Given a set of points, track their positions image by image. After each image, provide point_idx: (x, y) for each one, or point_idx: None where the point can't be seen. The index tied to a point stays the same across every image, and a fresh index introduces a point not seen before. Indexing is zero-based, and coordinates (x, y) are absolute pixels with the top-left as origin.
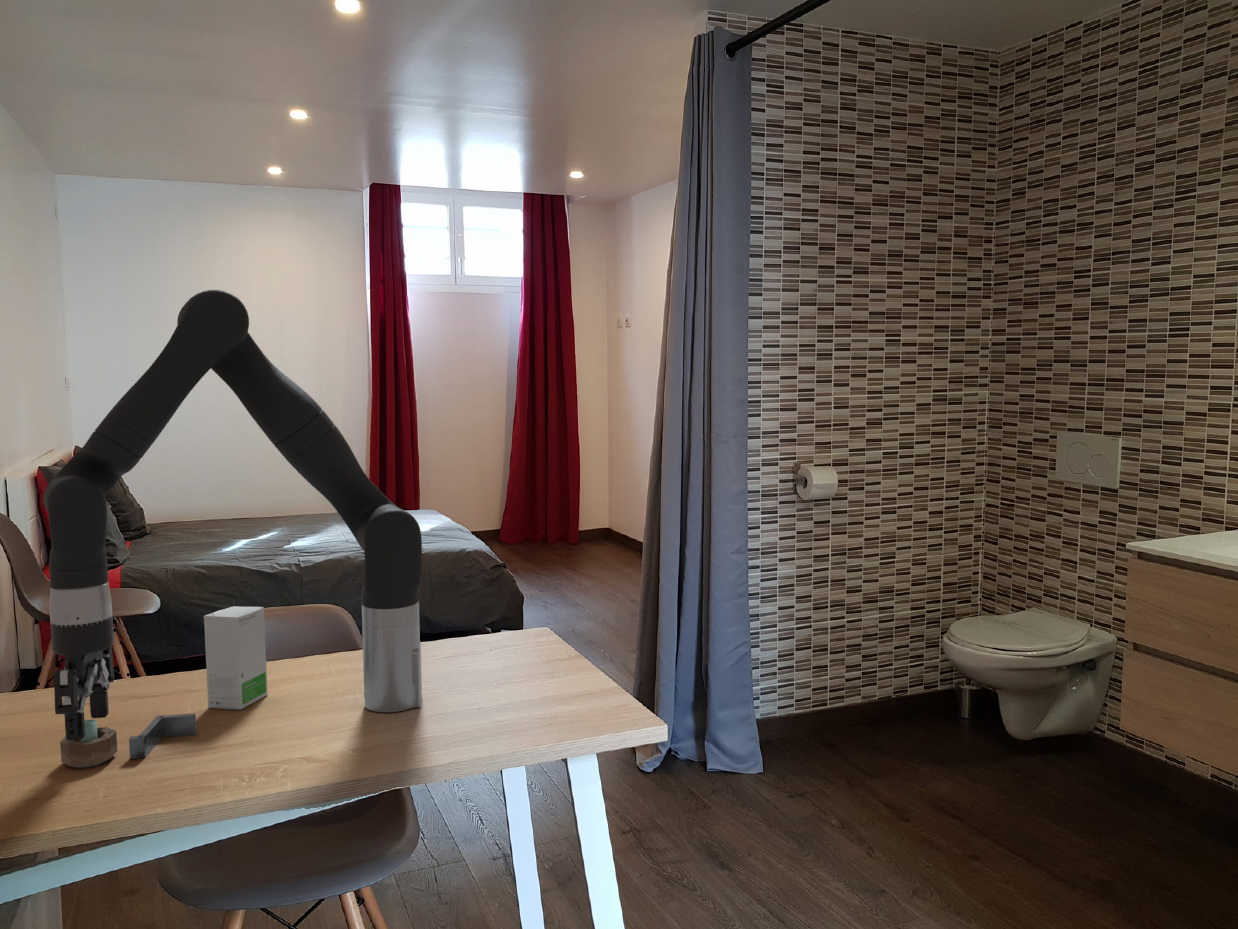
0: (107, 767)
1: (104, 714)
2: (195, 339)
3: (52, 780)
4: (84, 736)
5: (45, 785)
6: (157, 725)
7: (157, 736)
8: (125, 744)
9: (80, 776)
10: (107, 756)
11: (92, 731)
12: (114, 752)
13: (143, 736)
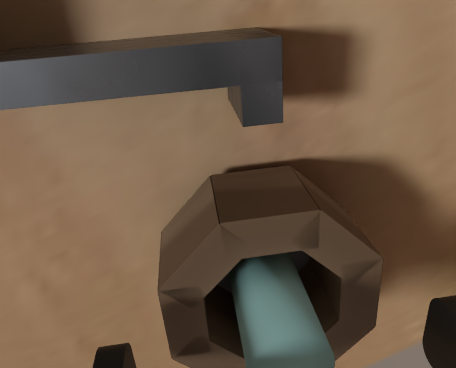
0: (328, 150)
1: (126, 360)
2: None
3: (397, 271)
4: (438, 298)
5: (431, 271)
6: (17, 58)
7: (50, 49)
8: (85, 191)
9: (390, 205)
10: (303, 177)
11: (307, 307)
12: (244, 174)
13: (258, 50)
